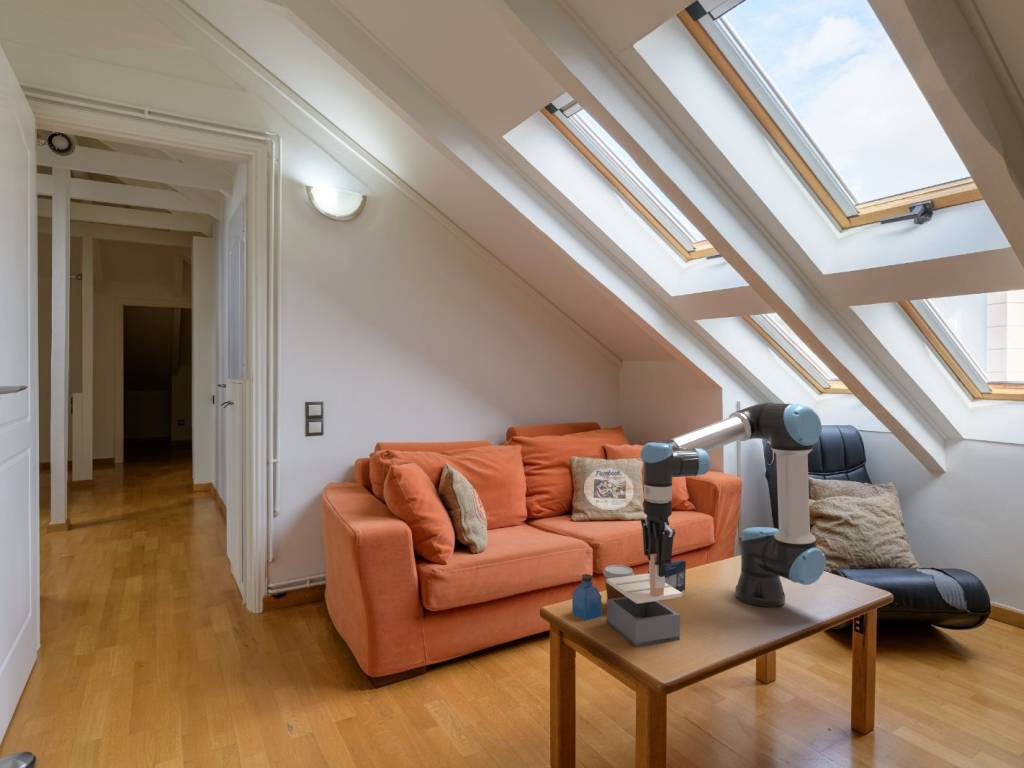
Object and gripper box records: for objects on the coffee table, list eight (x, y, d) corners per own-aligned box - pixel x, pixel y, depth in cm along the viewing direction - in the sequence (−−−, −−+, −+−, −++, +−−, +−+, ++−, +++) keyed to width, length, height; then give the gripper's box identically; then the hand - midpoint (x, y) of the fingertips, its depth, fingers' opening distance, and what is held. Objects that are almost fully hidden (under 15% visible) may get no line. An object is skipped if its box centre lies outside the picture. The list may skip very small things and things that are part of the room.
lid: (649, 579, 177) (649, 537, 176) (682, 600, 161) (682, 553, 161) (606, 585, 172) (606, 541, 172) (636, 607, 156) (636, 558, 156)
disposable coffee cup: (596, 607, 183) (597, 569, 183) (614, 599, 190) (615, 562, 190) (622, 616, 177) (622, 577, 176) (639, 607, 183) (640, 569, 183)
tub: (647, 616, 177) (648, 593, 176) (679, 639, 161) (679, 614, 161) (606, 622, 172) (606, 599, 172) (635, 647, 157) (635, 621, 157)
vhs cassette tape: (653, 603, 187) (653, 572, 187) (645, 600, 189) (646, 570, 189) (686, 590, 198) (687, 561, 198) (679, 588, 201) (679, 559, 201)
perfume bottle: (572, 613, 179) (572, 574, 178) (588, 609, 182) (588, 571, 182) (584, 620, 173) (585, 580, 173) (601, 616, 176) (601, 577, 176)
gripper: (631, 495, 165) (630, 578, 166) (661, 507, 151) (660, 597, 151) (654, 493, 168) (653, 575, 168) (686, 505, 153) (685, 593, 154)
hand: (656, 585), depth 160 cm, fingers closed on lid, 2 cm apart
